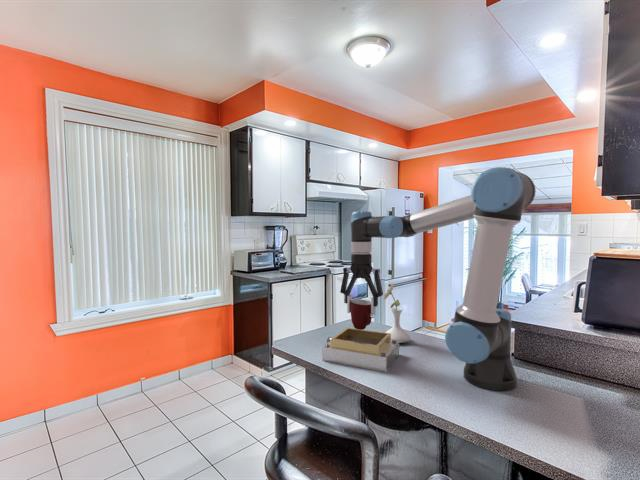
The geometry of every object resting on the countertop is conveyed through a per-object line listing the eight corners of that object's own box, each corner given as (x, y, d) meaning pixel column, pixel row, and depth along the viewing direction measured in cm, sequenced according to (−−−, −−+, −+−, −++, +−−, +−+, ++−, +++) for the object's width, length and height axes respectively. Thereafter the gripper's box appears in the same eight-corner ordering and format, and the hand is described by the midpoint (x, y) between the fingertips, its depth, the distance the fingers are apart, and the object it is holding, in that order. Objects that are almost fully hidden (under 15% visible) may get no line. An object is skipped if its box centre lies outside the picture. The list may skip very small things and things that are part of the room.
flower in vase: (393, 335, 154) (393, 280, 154) (415, 341, 146) (415, 283, 145) (375, 341, 146) (375, 283, 145) (398, 348, 137) (398, 286, 136)
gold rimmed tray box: (399, 354, 131) (399, 333, 130) (386, 372, 115) (386, 348, 114) (332, 343, 143) (332, 324, 143) (312, 358, 127) (312, 337, 127)
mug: (379, 332, 125) (381, 305, 125) (362, 335, 121) (364, 307, 120) (361, 323, 134) (363, 298, 133) (344, 325, 130) (346, 300, 129)
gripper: (392, 253, 125) (392, 314, 126) (338, 251, 135) (338, 308, 136) (386, 254, 119) (386, 319, 119) (330, 252, 128) (331, 312, 129)
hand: (361, 313), depth 128 cm, fingers closed on mug, 9 cm apart
